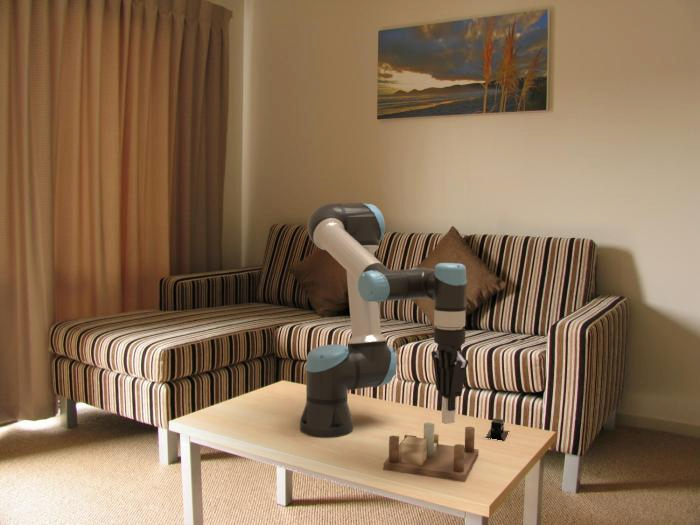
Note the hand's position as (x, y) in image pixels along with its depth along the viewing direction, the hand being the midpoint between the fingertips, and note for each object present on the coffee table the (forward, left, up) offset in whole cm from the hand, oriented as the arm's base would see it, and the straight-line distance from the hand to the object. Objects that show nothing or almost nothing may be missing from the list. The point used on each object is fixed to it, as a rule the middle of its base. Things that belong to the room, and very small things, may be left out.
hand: (448, 422), depth 174 cm
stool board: (-4, +2, -11) cm, 12 cm away
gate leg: (-5, +4, -10) cm, 11 cm away
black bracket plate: (+8, +29, -12) cm, 32 cm away
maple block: (-8, -3, -10) cm, 13 cm away
